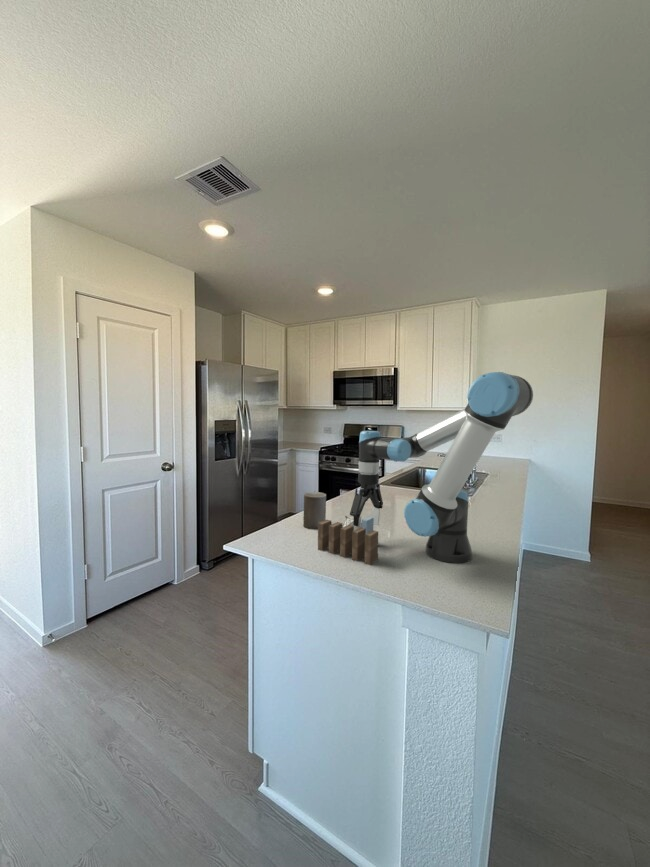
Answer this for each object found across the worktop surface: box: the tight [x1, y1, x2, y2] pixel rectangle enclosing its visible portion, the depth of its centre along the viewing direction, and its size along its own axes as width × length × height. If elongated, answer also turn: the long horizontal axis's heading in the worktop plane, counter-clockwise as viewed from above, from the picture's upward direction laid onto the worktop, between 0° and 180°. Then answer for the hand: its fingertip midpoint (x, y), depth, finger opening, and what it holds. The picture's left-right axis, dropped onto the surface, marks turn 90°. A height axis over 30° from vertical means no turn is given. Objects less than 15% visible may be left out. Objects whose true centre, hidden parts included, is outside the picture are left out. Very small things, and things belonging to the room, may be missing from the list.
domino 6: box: [364, 529, 379, 566], centre depth 117 cm, size 2×5×10 cm, turn 143°
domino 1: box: [317, 519, 332, 552], centre depth 129 cm, size 2×5×10 cm, turn 143°
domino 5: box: [361, 516, 375, 534], centre depth 133 cm, size 2×5×10 cm, turn 143°
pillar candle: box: [302, 491, 327, 530], centre depth 154 cm, size 10×10×15 cm
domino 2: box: [328, 521, 343, 555], centre depth 126 cm, size 2×5×10 cm, turn 143°
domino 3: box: [339, 525, 354, 558], centre depth 123 cm, size 2×5×10 cm, turn 143°
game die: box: [342, 515, 362, 528], centre depth 142 cm, size 9×8×10 cm
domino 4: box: [351, 527, 366, 562], centre depth 120 cm, size 2×5×10 cm, turn 143°
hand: (366, 529), depth 133 cm, fingers open, 13 cm apart
